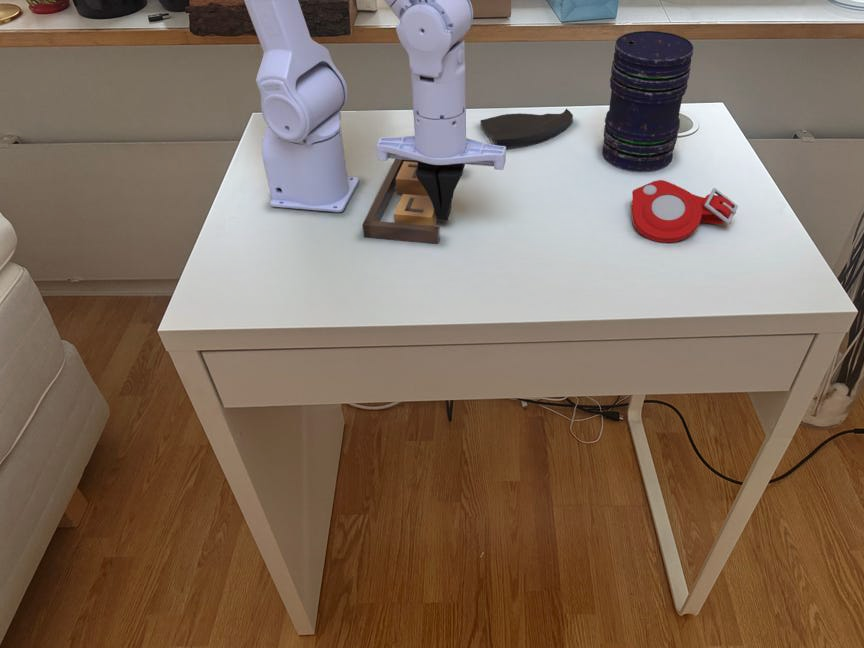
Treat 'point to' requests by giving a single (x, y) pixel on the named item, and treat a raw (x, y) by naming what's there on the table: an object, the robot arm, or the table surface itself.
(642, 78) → the dark blue barrel
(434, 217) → the l tile
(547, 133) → the dark sector wedge
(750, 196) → the table surface
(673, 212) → the tracker holder
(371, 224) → the frame
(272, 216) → the table surface
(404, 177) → the t tile
